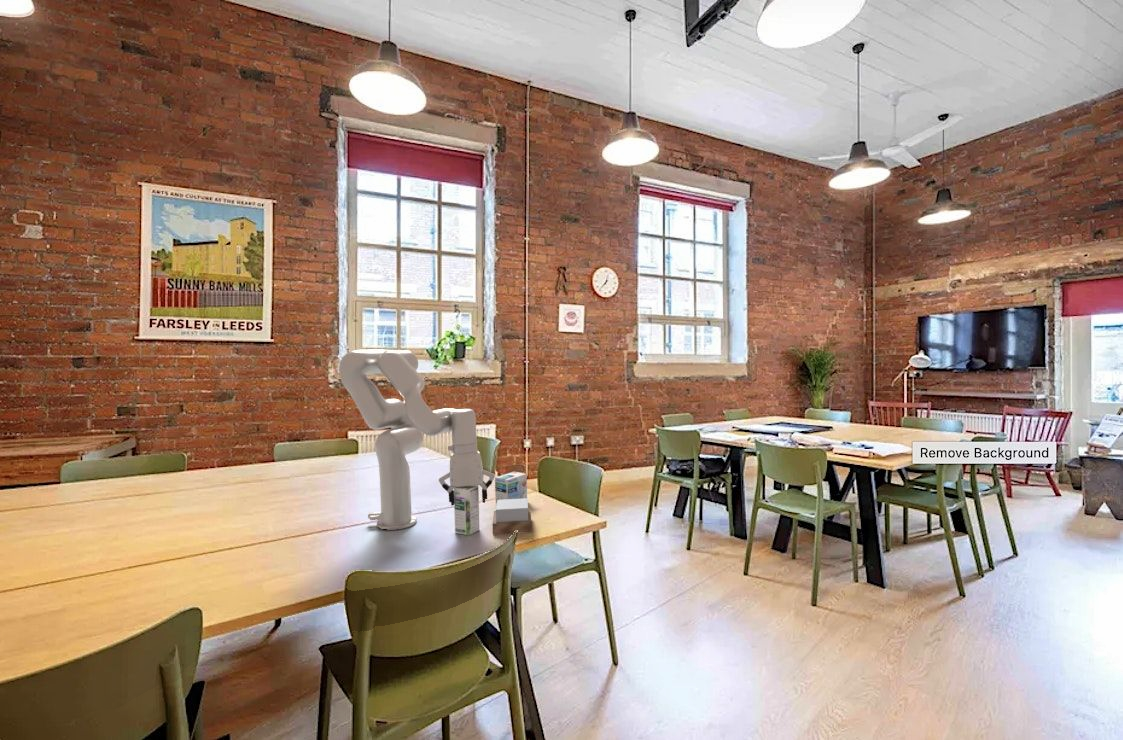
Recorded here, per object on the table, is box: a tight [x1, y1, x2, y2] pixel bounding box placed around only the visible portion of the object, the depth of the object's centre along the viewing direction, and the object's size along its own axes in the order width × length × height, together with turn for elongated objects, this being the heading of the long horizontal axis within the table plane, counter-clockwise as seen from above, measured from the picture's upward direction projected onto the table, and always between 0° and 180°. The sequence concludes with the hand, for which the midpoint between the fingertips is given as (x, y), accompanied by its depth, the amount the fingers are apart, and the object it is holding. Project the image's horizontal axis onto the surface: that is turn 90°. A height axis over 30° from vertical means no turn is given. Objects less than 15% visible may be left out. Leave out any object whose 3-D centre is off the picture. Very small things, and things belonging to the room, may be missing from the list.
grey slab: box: [495, 497, 529, 522], centre depth 160 cm, size 10×10×4 cm
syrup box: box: [453, 485, 480, 537], centre depth 156 cm, size 6×6×14 cm
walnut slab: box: [491, 508, 533, 535], centre depth 160 cm, size 12×12×4 cm
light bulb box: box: [494, 471, 528, 505], centre depth 182 cm, size 11×7×11 cm, turn 143°
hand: (468, 502), depth 156 cm, fingers open, 9 cm apart
